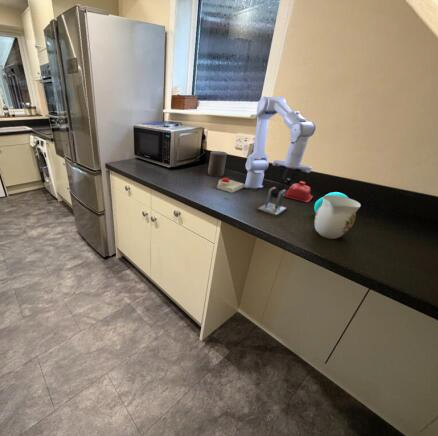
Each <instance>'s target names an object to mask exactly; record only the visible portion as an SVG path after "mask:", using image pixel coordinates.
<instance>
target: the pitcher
mask: <svg viewBox="0 0 438 436" xmlns="http://www.w3.org/2000/svg"><path fill="white" fill-rule="evenodd" d="M322 197H323V203H322V205H321V206H320V207H319V208H318V210H317V212H316V213H315V215H314V221H313V223H314V229H315V231H316V232H317V233H318V235H319V236H321V237H324V238H326V239H331V240H332V239H333V240H335V239H338V238H341V237H342V236H344V235H345V234H346V233H347V232H349V231H350V230H351V229H352V227H353V225H354V224H355V221H356V216H357V211H358V210H359V209H360V208H361V206H362V205H361V203H360V202H358V201H357V200H355V199H353V198H349V197H348V198H346V197H341V196H334V195H328V196H325V195H324V196H322Z"/></svg>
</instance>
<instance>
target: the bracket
mask: <svg viewBox="0 0 438 436" xmlns="http://www.w3.org/2000/svg"><path fill="white" fill-rule="evenodd" d="M275 189H277V187H276V186H273V187H271V188H269V189H268V193H267V197H266V200H265V203H264V204H263V205H261V206H259V207H258V208H257V210H259V211H262V212H264V213H268V214H270V215H273V216H278V215H280V214H281V213H282V212H284V211H285V210H287V207H286V206H282V204H283V201H284V197H285V196H284V195H285V192H286V191H287V190H286V189H282V191H280V192H279V194H278V198H276V201H275V203H273V200H274V197H272V193H273V191H274V190H275Z"/></svg>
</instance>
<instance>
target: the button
mask: <svg viewBox="0 0 438 436" xmlns="http://www.w3.org/2000/svg"><path fill="white" fill-rule="evenodd" d="M221 179H222V182H229V180H230V178H229V177H222V178H221Z"/></svg>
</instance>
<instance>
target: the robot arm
mask: <svg viewBox="0 0 438 436" xmlns="http://www.w3.org/2000/svg"><path fill="white" fill-rule="evenodd" d="M300 113H301V112H300V111H299V110H292V109H291V108H290V107H289V105H288V104H287V102H286V99H285V98H284V96H262V97H261V98H260V99H259V101H258V102H257V106H256V127H255V135H254V143H253V152H252V153H250V154H249V155H248V156H247V158H246V162H245V169H246V173H247V174H246V179H245V183H244V189H248V188H249V189H259V188H261V189H262V188H264V185H263V181H264V177H265V171H267V170H268V168H269V155H268V154H266V153H265V152H266V144H267V134H268V128H269V120H270V119H271V118H272V117H274V116H276V114H279V115H280V116H281V117H282V118H283V123H284V125H286V126H287V128H288V129H289V133H290V138H289V141H290V143H289V147H288V150H287V152H286V153H287V154H286V157H285V160H278V159H277V160H276V159H275V160H273V161H272V166H278V169H277V170H278V174H279V184H280V185H282V184H283V180H284V179H286V176H287V173H288V170H289V169H291V170H292V171H291V176H290V177H291V178H290V183H289V185H288V187H290V186H292V185H293V184H294V183H295V181H296V180H297V179H298V177H299V176H300V175H301V174H302V173H303V172H304V173H305V172H306V173H308V174H309V173H311V172H312V169H313V166H309V165H305V164H302V163H301V162H302V160H303V157H304V153H305V150H306V148H307V144H308V141H309V138H310V137H312V136H313V135H314V134H315V132H316V124H315V122H314V121H308V120H307V119H306V117H303V116H302V114H300Z"/></svg>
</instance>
